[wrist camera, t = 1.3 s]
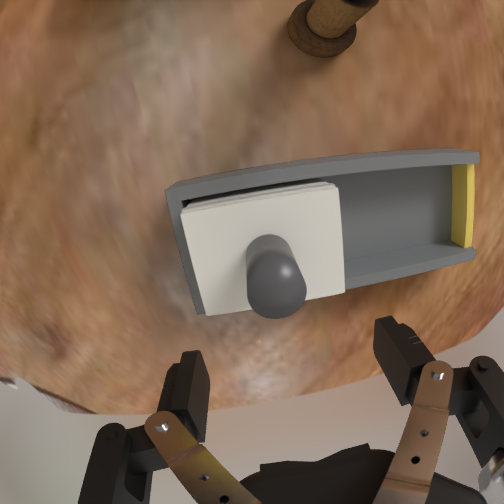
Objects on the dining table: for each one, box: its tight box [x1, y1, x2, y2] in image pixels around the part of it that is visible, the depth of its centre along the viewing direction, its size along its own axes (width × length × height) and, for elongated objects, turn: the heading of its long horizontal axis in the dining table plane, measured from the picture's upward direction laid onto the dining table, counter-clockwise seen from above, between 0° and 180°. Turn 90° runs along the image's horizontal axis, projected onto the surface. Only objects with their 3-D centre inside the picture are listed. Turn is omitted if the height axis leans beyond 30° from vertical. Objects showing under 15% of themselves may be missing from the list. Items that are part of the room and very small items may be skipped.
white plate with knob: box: [180, 177, 345, 319], centre depth 24 cm, size 9×12×13 cm
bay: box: [165, 148, 479, 315], centre depth 29 cm, size 12×32×5 cm, turn 100°
